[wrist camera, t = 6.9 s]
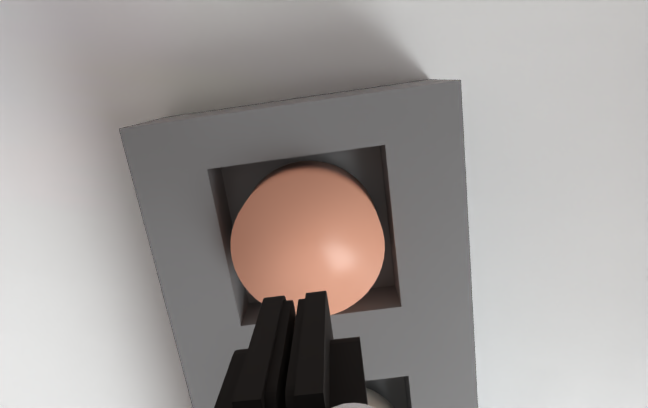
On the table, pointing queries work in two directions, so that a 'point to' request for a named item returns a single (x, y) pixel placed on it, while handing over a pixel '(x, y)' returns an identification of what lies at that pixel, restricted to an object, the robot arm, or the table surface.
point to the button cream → (377, 400)
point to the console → (390, 204)
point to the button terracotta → (308, 236)
